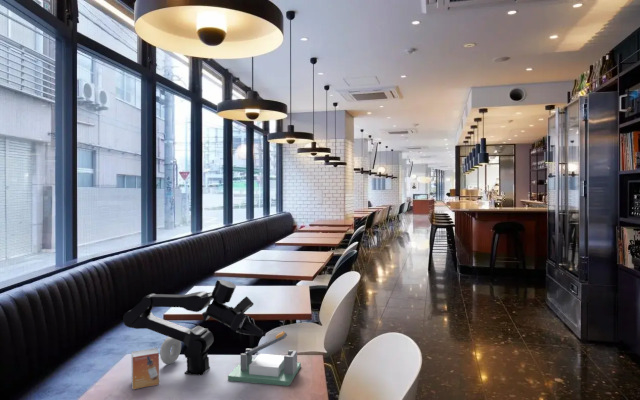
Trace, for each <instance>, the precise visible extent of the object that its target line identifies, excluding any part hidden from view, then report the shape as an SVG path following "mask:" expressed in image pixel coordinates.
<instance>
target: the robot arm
mask: <svg viewBox="0 0 640 400" xmlns="http://www.w3.org/2000/svg"><path fill="white" fill-rule="evenodd" d="M236 288H237V286H236V284H235V283H234V282H231V281H229V280H225V279H224V280H222V279H220V278H219V279H217V280H216V282H215V285H214V288H213V290H212V292H207V291H203V290H202V291H197V292H192V293H189V294H165V293H164V294H163V293H160V294H159V293H158V294H156V293H150V294H148V295H145V296H144V297H143V298H142V299H141V300H140V302H138V303H137V304H136V305H134V307H133V308H131V309H130V310H128V311H126V312H125V313H124V314H123V316H122V320H123V322H122V323H124V326H125V327H127V328H129V329H130V328H131V329H136V330H139V329H140V330H141V329H142V330H145V329H146V330H149V331H153V332H154V333H158V334H161V335H163V336H166V337H167V338H168V337H171V338H173V339H176V340H179V341H180V342H182V343H183V344H184V345H185V347H186V349H185V350H184V351H183V355H184V358H186V371H184V374H185V375H193V376H203V375H204V374H205V373H207V372H208V371H209V370H210V369H211V366H210V357H209V356H208V355H209V354H208V352H207V351H208V350H209V349H210V347H211V346H212V344H213V343H214V334H213V332H211V331H210V330H209V328H204V327H203V326H200V325H197V326H195V327H193V328H188V327H185V326H182V325H179V324H177V323H175V322H172V321H168V320H166V319H164V318H161V317H158V316H155V315H154V314H153V312H152V310H153V309H154V307H156V308H182V309H184V310H186V311H190V312H193V313H194V312H195V313H199V312H201V311H202V310H204V309H205V308H206V310H205V311H204V312H202V313H201V315H202V318H203V321H204V322H206V321H207V320H209V319H210V318H212V319H214V320H215V321H218V322H220V323H221V324H223V325H225V326H227V327H229V328H230V330H231V331H233V332H235V333H238V334H243V335H246V336H257V337H266V336H267V333H266V332H265V331H263V329H261V328H260V327H259V326H257V325H256V324H255V319H254V318H252V316H249V315H247V314H246V312H247V311H248V310H249V309H250V308H252V307H253V306H254V302H253V301H252V300H251V299H250V298H249V297H248V296H245V297H243V299H241V300H240V301H239V302H238V303H237V304H236V305H235V307H233V306H228V305H227V303H229V302H230V301H231V299H232V298H233V295H234V292H235V290H236ZM211 301H212V302H211Z"/></svg>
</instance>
